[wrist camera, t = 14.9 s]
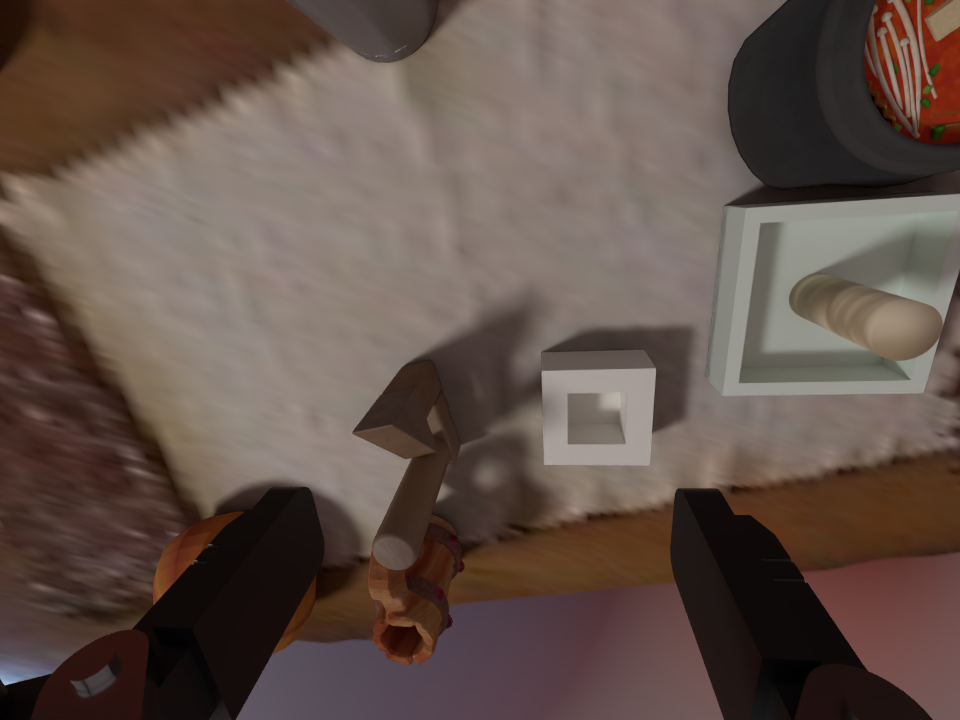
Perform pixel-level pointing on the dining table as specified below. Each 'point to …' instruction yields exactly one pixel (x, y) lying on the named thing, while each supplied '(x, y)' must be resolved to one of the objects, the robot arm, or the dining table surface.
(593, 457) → the holder
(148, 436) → the dining table surface
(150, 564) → the dining table surface
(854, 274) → the tray
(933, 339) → the dowel
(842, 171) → the casserole
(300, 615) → the pumpkin
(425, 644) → the mug
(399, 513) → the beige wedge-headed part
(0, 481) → the dining table surface
